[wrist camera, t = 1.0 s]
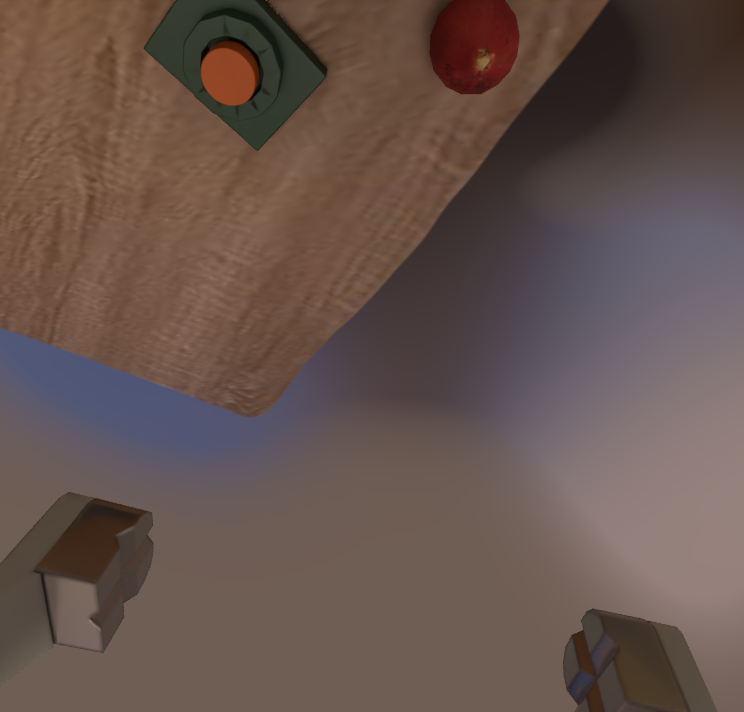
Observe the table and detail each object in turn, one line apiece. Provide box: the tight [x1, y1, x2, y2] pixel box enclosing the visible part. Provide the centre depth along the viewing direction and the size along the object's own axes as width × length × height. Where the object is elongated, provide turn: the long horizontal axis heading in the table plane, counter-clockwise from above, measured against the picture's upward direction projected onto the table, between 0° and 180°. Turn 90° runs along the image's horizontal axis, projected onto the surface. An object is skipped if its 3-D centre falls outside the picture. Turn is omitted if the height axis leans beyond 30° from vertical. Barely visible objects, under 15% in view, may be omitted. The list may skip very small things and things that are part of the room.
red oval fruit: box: [430, 0, 519, 94], centre depth 35 cm, size 6×6×8 cm
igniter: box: [144, 0, 327, 151], centre depth 37 cm, size 10×8×4 cm
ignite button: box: [201, 41, 259, 106], centre depth 36 cm, size 4×4×2 cm
